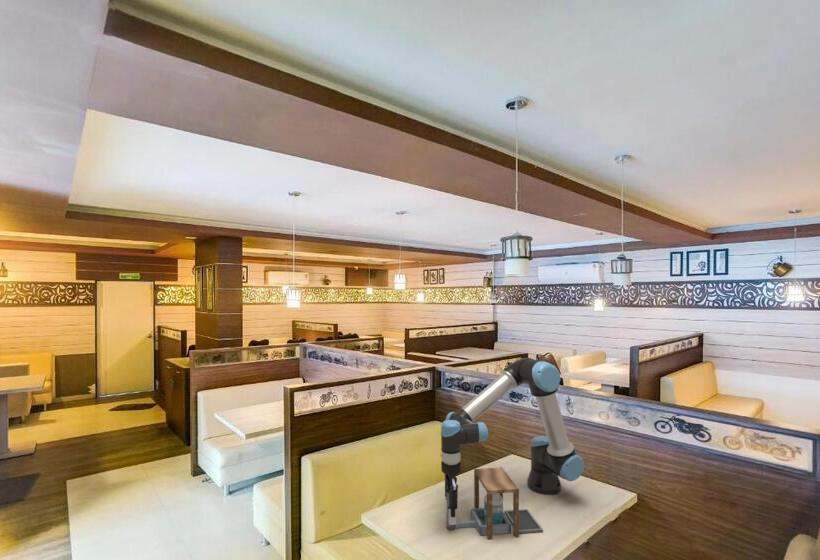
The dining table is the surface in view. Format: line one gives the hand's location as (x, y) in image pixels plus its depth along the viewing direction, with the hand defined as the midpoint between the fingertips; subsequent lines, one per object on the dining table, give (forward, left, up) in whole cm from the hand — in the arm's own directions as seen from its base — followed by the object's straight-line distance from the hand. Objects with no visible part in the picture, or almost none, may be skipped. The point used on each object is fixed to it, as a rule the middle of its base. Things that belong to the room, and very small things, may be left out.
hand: (451, 520), depth 165 cm
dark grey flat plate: (-30, 0, -3) cm, 30 cm away
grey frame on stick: (-10, 0, -2) cm, 10 cm away
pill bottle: (-17, 0, -3) cm, 18 cm away
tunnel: (-18, 0, -3) cm, 18 cm away
